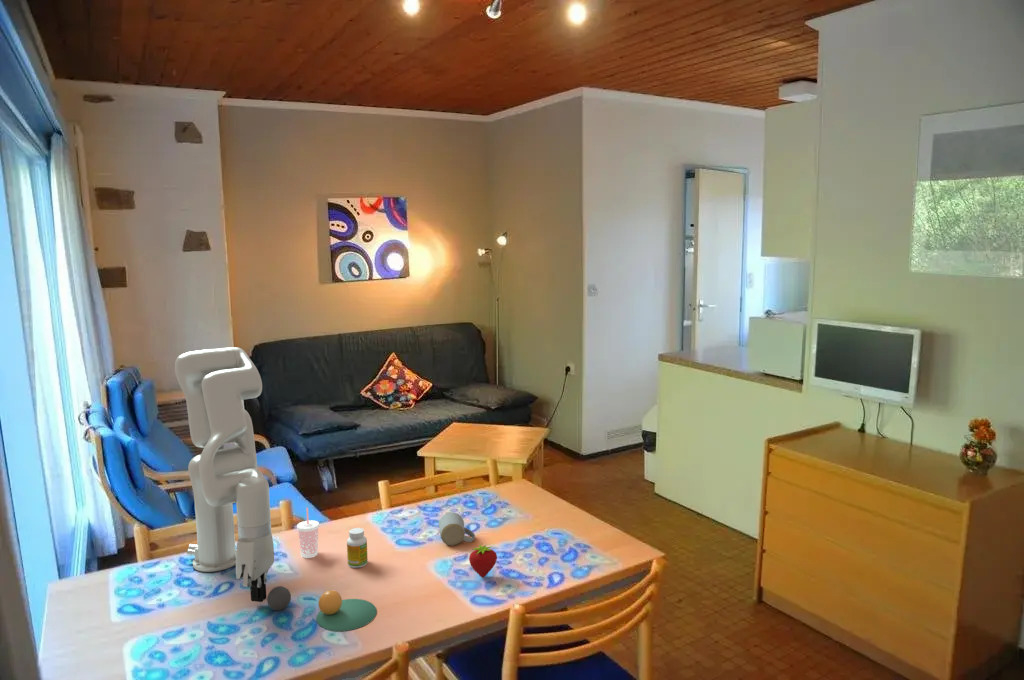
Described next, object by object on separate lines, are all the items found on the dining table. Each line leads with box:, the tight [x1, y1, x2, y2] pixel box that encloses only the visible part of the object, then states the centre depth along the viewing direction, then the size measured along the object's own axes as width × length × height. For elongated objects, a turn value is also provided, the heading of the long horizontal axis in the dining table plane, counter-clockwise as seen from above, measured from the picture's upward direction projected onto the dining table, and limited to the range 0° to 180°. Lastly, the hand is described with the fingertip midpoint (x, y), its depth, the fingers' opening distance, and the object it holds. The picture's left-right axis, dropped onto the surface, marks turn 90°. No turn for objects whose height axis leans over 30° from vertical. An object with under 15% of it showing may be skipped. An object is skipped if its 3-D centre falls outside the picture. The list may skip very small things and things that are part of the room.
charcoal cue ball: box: [266, 585, 292, 611], centre depth 165 cm, size 6×6×6 cm
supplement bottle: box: [346, 527, 368, 569], centre depth 188 cm, size 5×5×10 cm
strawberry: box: [468, 542, 498, 578], centre depth 181 cm, size 6×8×10 cm
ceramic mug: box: [438, 511, 476, 547], centre depth 203 cm, size 11×8×8 cm
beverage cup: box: [296, 507, 320, 559], centre depth 194 cm, size 6×6×14 cm
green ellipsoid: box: [316, 598, 378, 632], centre depth 163 cm, size 14×14×1 cm
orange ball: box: [318, 589, 343, 615], centre depth 163 cm, size 6×6×6 cm
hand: (258, 599), depth 167 cm, fingers closed
